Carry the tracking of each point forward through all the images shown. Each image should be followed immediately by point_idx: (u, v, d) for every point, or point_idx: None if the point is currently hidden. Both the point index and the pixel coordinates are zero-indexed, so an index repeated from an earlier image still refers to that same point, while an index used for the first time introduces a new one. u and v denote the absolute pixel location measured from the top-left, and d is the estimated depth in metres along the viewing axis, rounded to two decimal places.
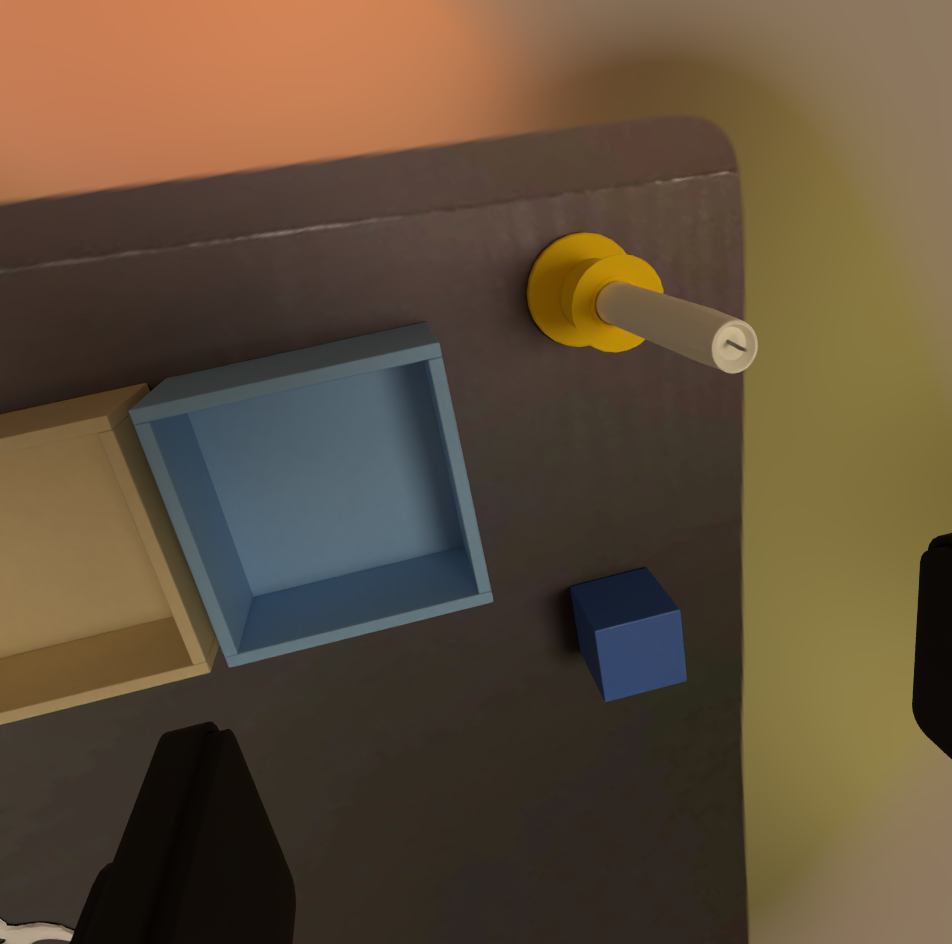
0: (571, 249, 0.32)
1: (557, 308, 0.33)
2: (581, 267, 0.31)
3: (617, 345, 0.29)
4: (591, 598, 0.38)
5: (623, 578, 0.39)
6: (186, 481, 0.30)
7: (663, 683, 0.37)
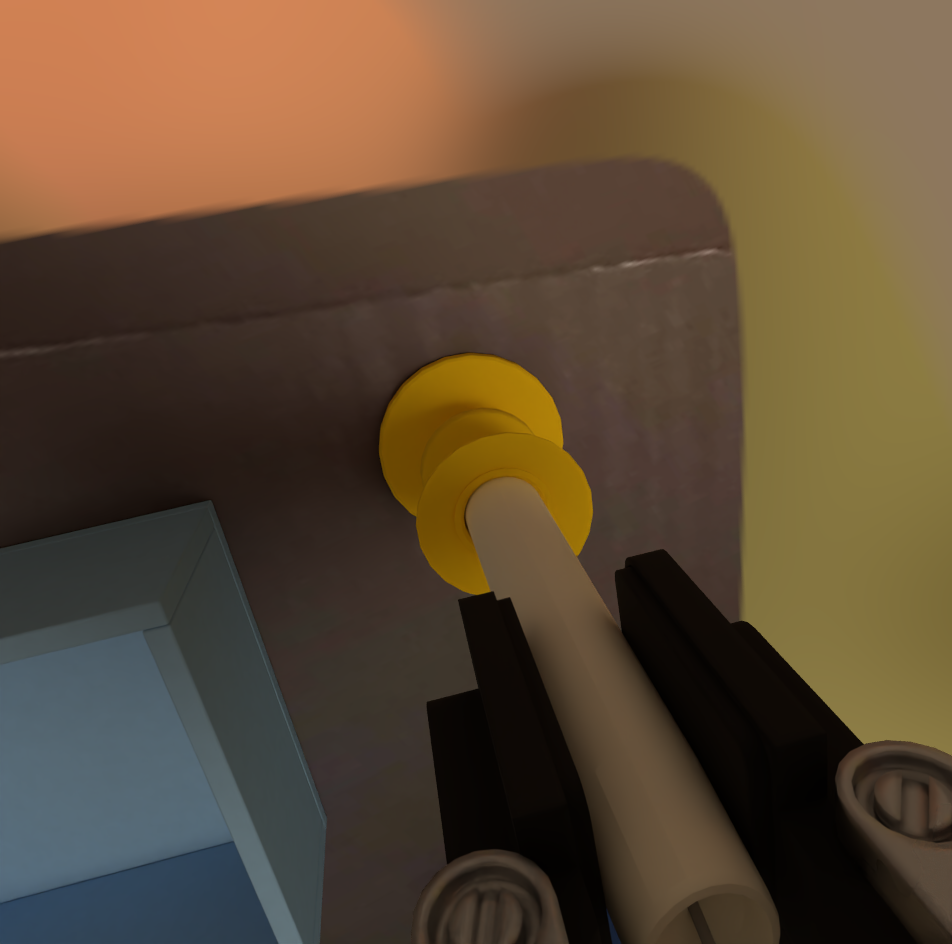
0: (448, 383, 0.19)
1: None
2: (454, 428, 0.17)
3: None
4: None
5: None
6: None
7: None
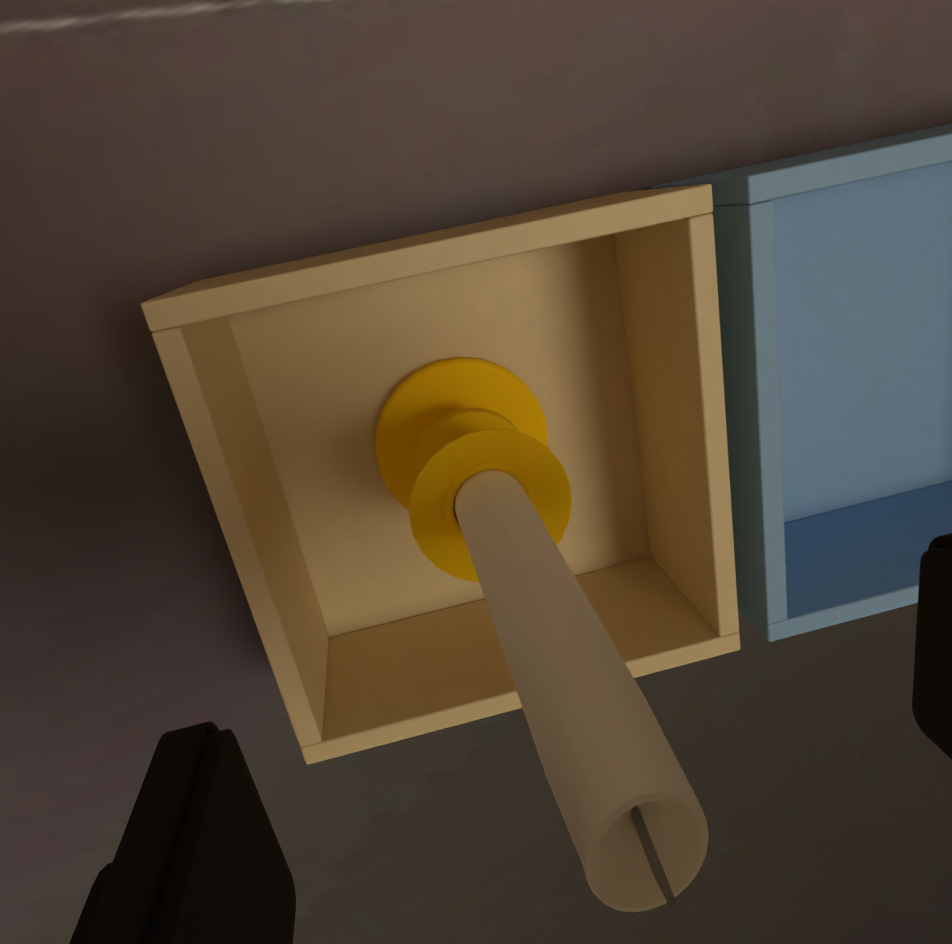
0: (440, 385, 0.20)
1: None
2: (445, 427, 0.19)
3: None
4: None
5: None
6: None
7: None
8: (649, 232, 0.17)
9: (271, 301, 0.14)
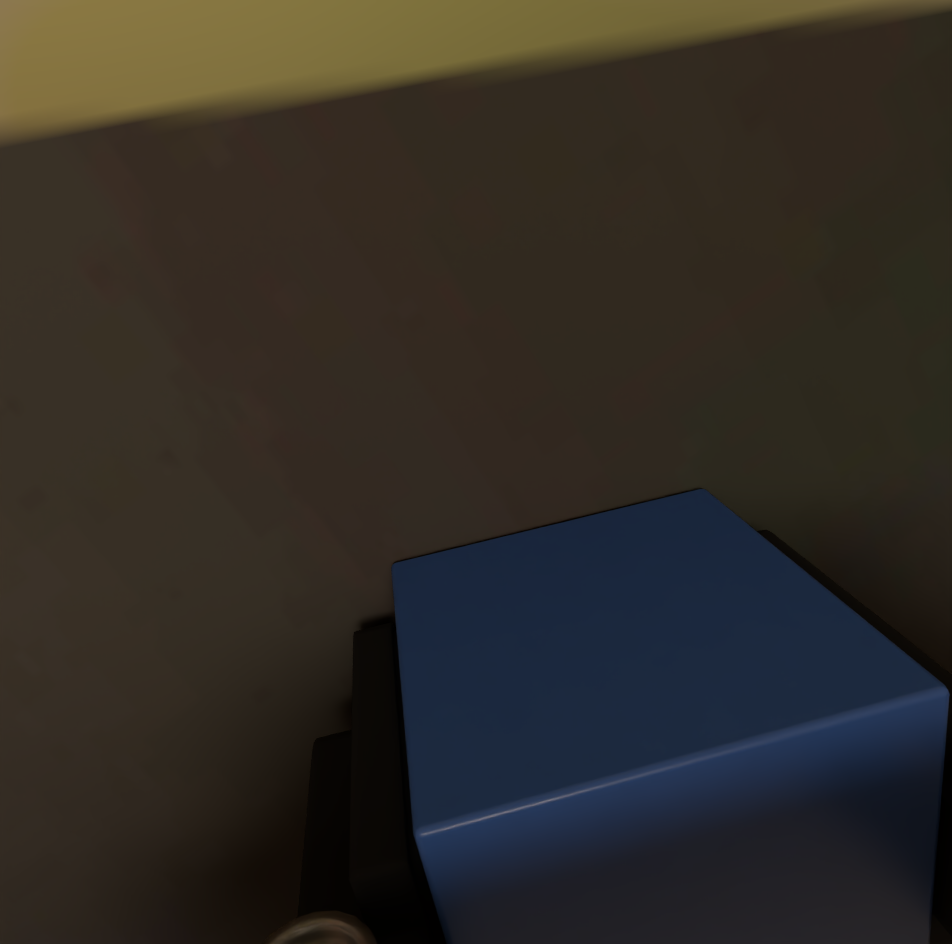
0: None
1: None
2: None
3: None
4: None
5: None
6: None
7: (920, 813, 0.06)
8: None
9: None
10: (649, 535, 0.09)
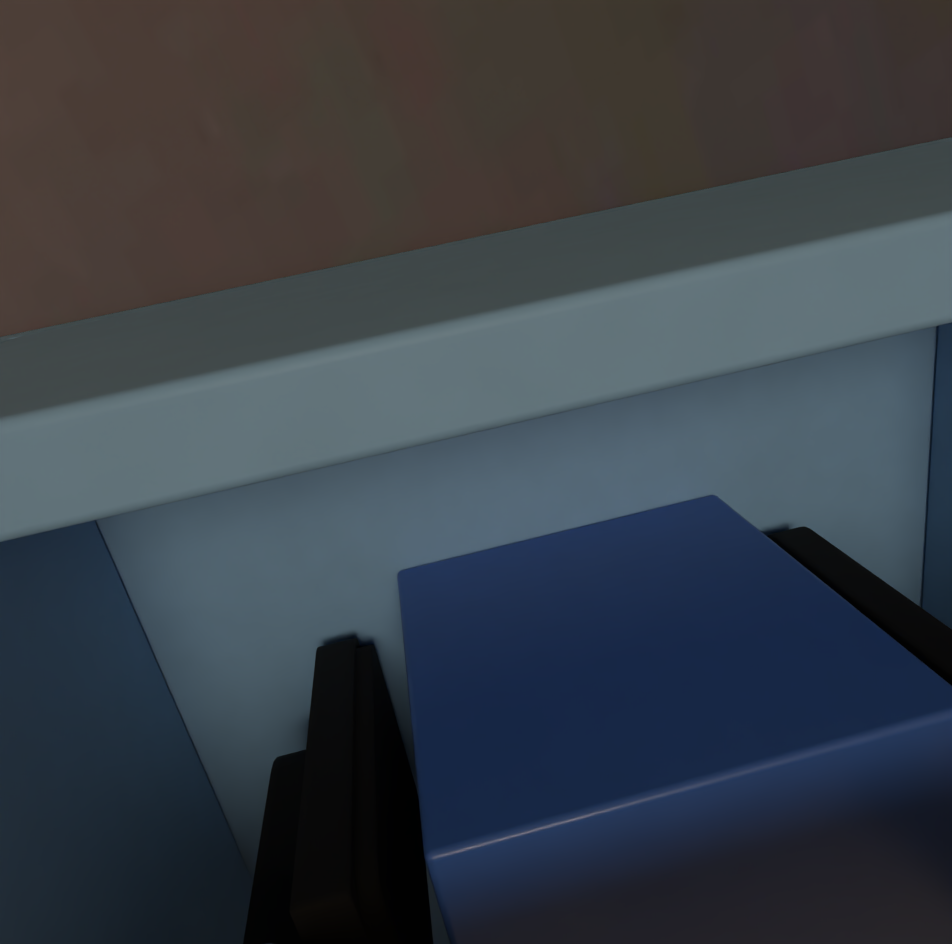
0: None
1: None
2: None
3: None
4: None
5: None
6: None
7: (945, 832, 0.06)
8: None
9: None
10: (661, 543, 0.09)
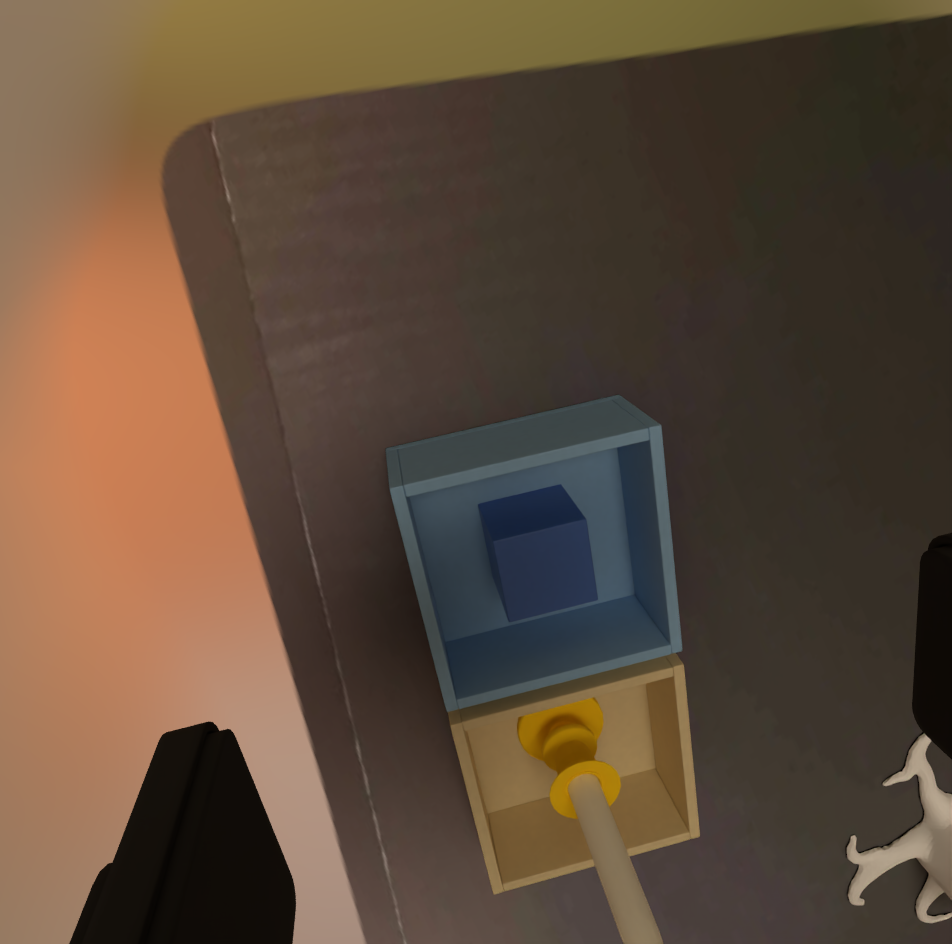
0: (530, 740, 0.42)
1: None
2: (549, 764, 0.40)
3: (616, 784, 0.37)
4: (495, 581, 0.36)
5: (484, 534, 0.36)
6: (512, 664, 0.36)
7: (585, 544, 0.33)
8: None
9: (494, 860, 0.38)
10: (543, 495, 0.36)
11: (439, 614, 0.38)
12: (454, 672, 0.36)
